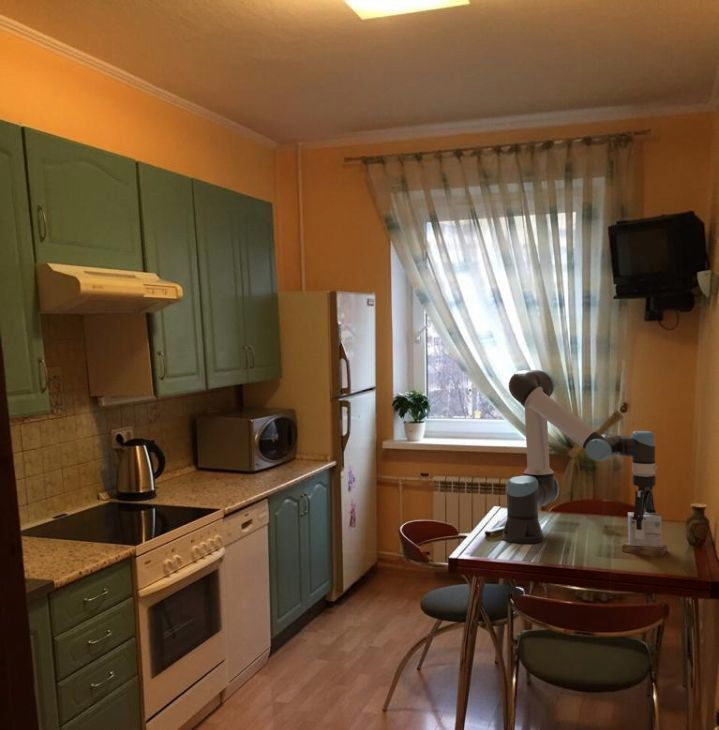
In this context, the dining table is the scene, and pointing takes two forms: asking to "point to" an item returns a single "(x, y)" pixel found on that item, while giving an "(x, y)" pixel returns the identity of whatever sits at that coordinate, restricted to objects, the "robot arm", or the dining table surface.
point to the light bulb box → (646, 530)
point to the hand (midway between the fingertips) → (644, 534)
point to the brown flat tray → (645, 549)
